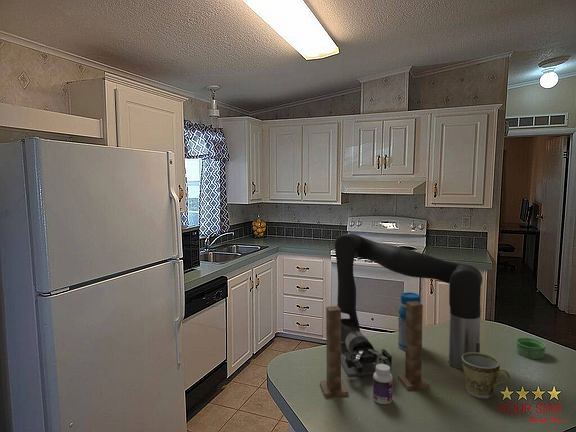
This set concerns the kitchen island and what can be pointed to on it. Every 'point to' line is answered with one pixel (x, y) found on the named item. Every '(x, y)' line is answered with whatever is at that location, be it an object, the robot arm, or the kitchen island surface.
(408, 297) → the beverage bottle
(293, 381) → the kitchen island surface
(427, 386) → the walnut post
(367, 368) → the charcoal mat
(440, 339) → the kitchen island surface
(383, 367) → the pill bottle
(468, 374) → the ceramic cup
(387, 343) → the kitchen island surface
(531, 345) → the ramekin
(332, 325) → the walnut post
